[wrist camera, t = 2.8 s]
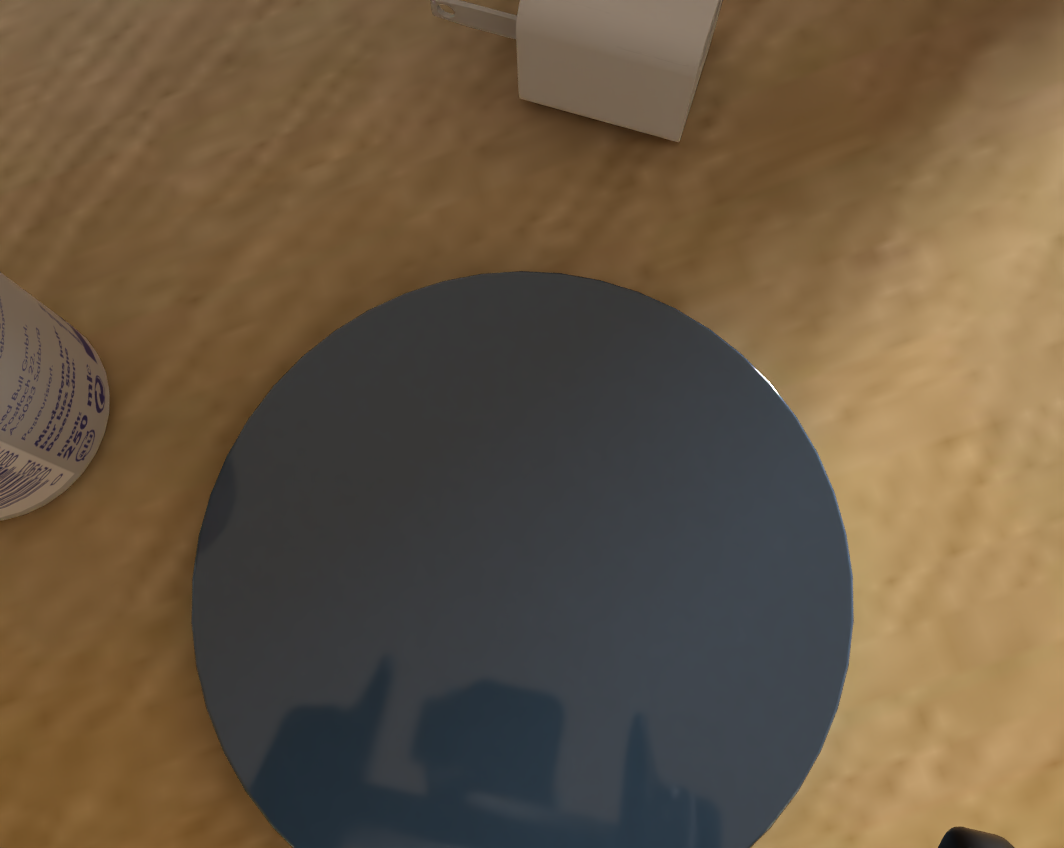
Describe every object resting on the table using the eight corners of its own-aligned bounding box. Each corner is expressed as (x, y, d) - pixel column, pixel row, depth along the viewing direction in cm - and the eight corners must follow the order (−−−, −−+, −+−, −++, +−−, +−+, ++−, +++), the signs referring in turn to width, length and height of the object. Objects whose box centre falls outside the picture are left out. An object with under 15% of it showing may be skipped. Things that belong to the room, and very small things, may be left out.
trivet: (589, 1093, 20) (590, 1110, 19) (67, 642, 22) (50, 640, 22) (966, 519, 23) (980, 514, 22) (469, 175, 25) (467, 160, 25)
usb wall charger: (675, 153, 26) (699, 59, 22) (427, 84, 26) (407, -19, 22) (715, 27, 26) (744, -85, 23) (474, -36, 27) (463, -156, 23)
